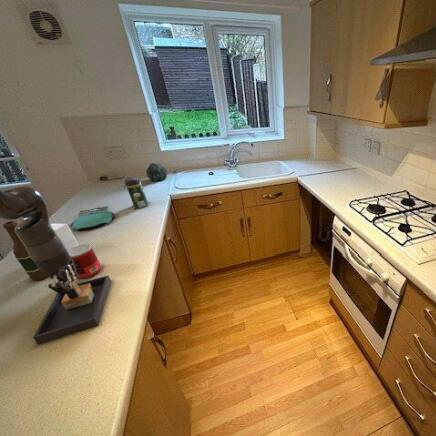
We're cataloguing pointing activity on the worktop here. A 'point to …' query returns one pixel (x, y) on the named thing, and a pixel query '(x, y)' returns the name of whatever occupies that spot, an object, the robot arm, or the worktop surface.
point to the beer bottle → (24, 254)
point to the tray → (73, 313)
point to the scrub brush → (78, 297)
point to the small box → (65, 235)
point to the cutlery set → (92, 218)
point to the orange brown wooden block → (86, 286)
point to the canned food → (85, 261)
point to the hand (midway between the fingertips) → (75, 294)
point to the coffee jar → (136, 192)
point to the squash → (156, 172)
